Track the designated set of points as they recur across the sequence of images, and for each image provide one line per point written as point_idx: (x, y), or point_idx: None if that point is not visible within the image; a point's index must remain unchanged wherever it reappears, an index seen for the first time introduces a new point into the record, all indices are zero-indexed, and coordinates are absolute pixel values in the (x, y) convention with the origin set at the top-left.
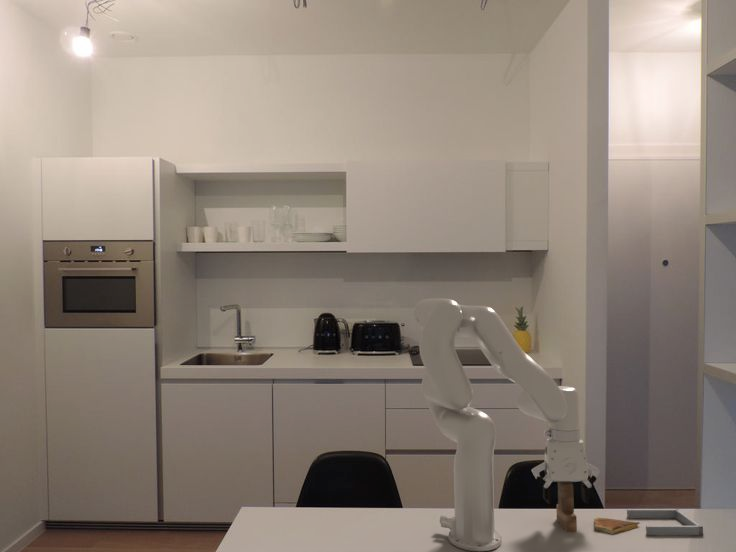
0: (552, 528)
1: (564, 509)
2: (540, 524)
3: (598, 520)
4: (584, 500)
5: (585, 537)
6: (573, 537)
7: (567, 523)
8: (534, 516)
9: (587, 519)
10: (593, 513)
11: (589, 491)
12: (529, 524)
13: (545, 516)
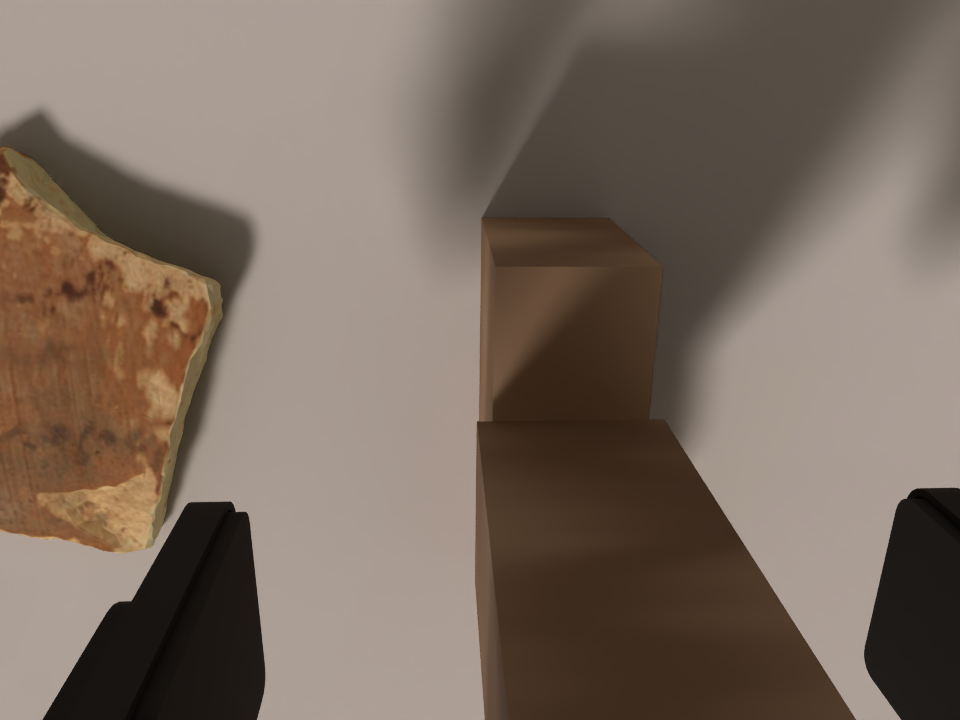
0: (736, 330)
1: (635, 442)
2: (825, 437)
3: (120, 441)
4: (246, 575)
5: (425, 52)
6: (585, 54)
7: (620, 243)
8: None
9: None
10: None
11: (59, 708)
12: (949, 436)
13: None
